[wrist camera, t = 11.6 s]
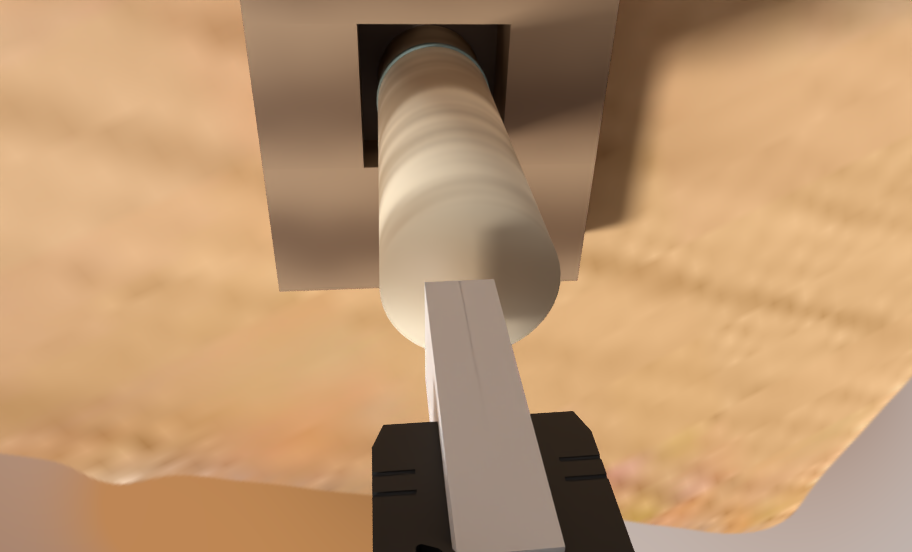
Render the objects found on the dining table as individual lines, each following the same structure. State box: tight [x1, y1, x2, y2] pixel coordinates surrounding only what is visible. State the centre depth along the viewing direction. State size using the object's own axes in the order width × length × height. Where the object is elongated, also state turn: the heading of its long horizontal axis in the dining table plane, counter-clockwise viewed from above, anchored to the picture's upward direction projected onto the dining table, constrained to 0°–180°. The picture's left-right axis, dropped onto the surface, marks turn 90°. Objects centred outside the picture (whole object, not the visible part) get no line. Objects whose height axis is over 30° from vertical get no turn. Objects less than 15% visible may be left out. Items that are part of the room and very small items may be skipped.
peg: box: [377, 25, 561, 348], centre depth 24 cm, size 4×4×16 cm
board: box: [240, 0, 620, 292], centre depth 29 cm, size 18×14×4 cm
